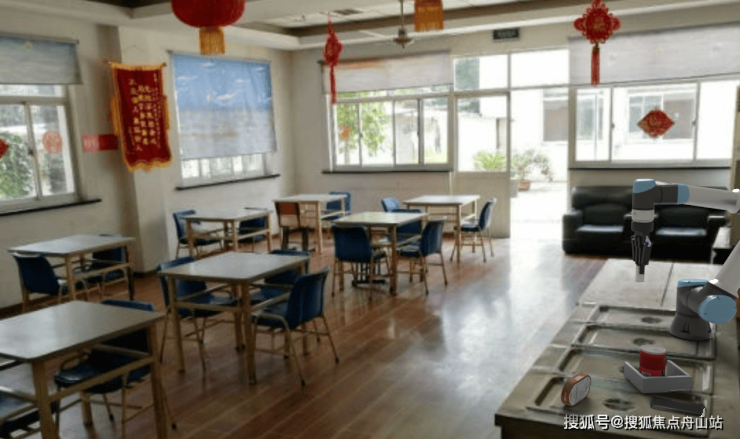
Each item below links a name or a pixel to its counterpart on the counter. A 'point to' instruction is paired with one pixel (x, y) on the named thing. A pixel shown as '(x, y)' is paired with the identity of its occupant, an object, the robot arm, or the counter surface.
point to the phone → (676, 405)
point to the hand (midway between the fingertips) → (639, 281)
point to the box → (659, 379)
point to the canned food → (652, 361)
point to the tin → (576, 389)
